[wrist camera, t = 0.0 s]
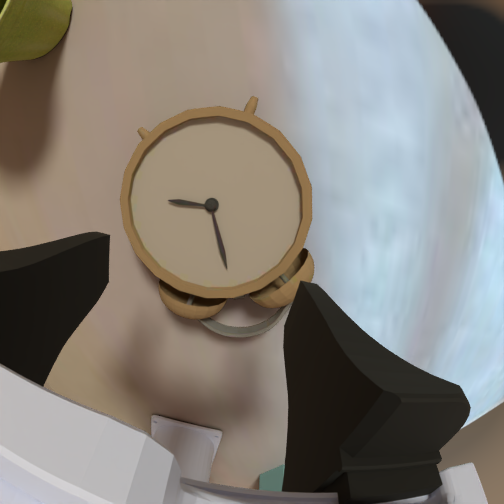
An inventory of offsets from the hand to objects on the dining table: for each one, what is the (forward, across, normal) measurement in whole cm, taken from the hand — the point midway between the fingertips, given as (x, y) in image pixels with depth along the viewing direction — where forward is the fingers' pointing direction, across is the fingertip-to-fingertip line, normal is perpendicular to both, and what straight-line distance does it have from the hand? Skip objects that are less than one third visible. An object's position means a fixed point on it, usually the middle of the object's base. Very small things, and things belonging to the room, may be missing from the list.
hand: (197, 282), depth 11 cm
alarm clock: (+11, 0, +1) cm, 11 cm away
